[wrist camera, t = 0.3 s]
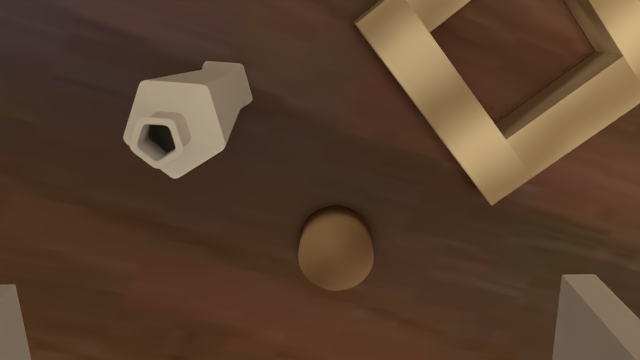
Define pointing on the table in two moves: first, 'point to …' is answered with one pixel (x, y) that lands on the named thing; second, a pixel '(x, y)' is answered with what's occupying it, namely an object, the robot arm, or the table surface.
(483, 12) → the table surface
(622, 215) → the table surface
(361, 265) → the brown short cylinder
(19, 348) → the robot arm
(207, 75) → the perfume bottle
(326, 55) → the table surface
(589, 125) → the square wooden frame
